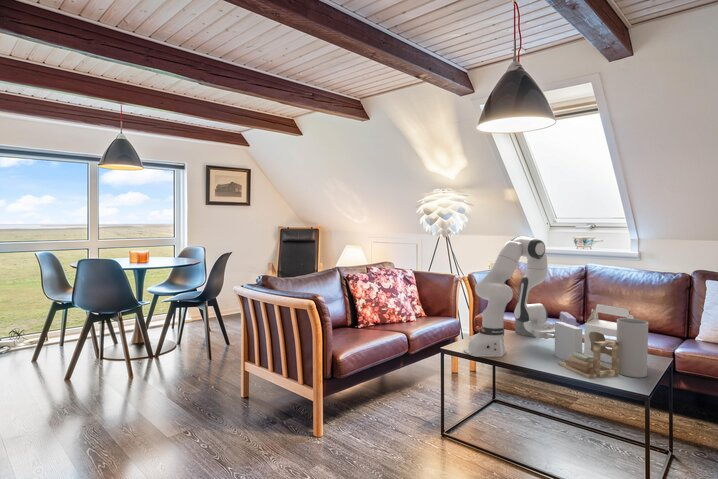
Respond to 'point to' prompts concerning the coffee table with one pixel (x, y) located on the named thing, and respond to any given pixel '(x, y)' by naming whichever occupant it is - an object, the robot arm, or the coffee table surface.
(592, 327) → the gable box
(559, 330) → the tall board
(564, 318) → the cake pan box
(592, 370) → the offcut stack
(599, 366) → the rack
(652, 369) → the coffee table surface
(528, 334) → the hip flask
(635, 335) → the cylinder vase
